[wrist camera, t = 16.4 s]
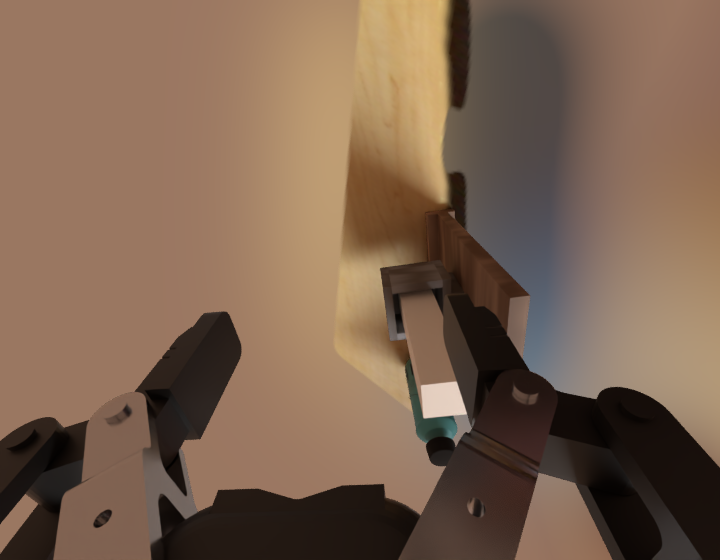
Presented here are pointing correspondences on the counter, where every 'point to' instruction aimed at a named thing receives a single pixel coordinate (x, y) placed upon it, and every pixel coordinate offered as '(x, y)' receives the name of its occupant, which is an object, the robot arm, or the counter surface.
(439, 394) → the beige tall block
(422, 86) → the counter surface
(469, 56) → the counter surface
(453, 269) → the cup bracket
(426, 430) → the beverage bottle
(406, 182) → the counter surface
